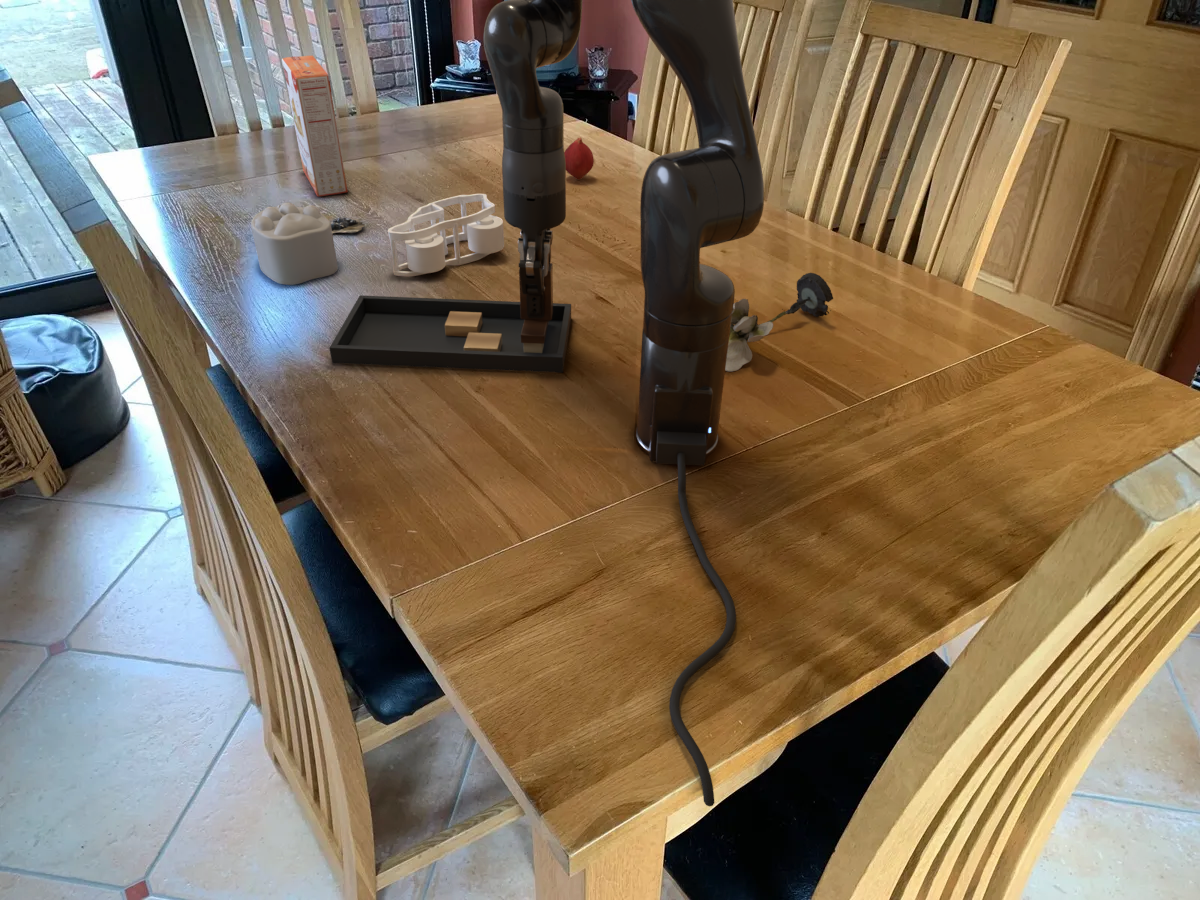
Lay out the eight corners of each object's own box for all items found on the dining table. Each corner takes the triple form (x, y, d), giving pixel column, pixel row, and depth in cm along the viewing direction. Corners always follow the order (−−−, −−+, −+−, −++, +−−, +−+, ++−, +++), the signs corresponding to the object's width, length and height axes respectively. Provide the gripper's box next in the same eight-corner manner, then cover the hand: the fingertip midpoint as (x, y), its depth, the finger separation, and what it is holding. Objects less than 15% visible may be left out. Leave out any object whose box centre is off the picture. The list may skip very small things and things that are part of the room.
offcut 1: (478, 337, 120) (477, 326, 119) (445, 335, 120) (444, 325, 119) (482, 322, 123) (481, 312, 122) (450, 321, 123) (450, 311, 122)
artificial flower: (839, 333, 127) (861, 281, 119) (718, 396, 118) (733, 344, 110) (796, 295, 131) (815, 242, 123) (676, 353, 122) (688, 300, 114)
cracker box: (301, 173, 171) (280, 56, 158) (333, 169, 173) (314, 53, 160) (315, 198, 160) (293, 75, 148) (348, 193, 162) (330, 72, 150)
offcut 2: (498, 359, 115) (497, 348, 115) (464, 358, 116) (463, 347, 115) (502, 344, 119) (501, 333, 118) (469, 342, 119) (468, 332, 118)
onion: (558, 182, 169) (558, 140, 165) (568, 172, 174) (568, 131, 169) (588, 186, 168) (588, 143, 163) (597, 176, 172) (597, 134, 168)
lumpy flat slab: (368, 234, 148) (366, 223, 147) (319, 240, 146) (317, 229, 145) (361, 219, 153) (359, 208, 152) (313, 225, 151) (311, 214, 150)
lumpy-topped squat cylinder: (281, 288, 132) (269, 233, 126) (247, 258, 140) (235, 205, 134) (346, 270, 137) (337, 216, 132) (310, 242, 145) (300, 190, 140)
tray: (562, 376, 114) (562, 357, 112) (332, 366, 114) (329, 347, 113) (571, 321, 125) (571, 303, 124) (362, 313, 126) (359, 295, 124)
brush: (548, 354, 115) (547, 285, 109) (517, 352, 115) (514, 284, 109) (555, 315, 123) (555, 249, 117) (526, 314, 123) (525, 248, 117)
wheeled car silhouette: (412, 289, 132) (407, 243, 128) (374, 264, 139) (368, 219, 134) (520, 254, 143) (518, 210, 139) (479, 232, 150) (477, 189, 145)
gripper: (510, 160, 112) (515, 286, 122) (494, 202, 101) (500, 336, 111) (570, 163, 112) (570, 288, 122) (560, 205, 101) (560, 339, 111)
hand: (537, 311), depth 117 cm, fingers closed on brush, 2 cm apart
